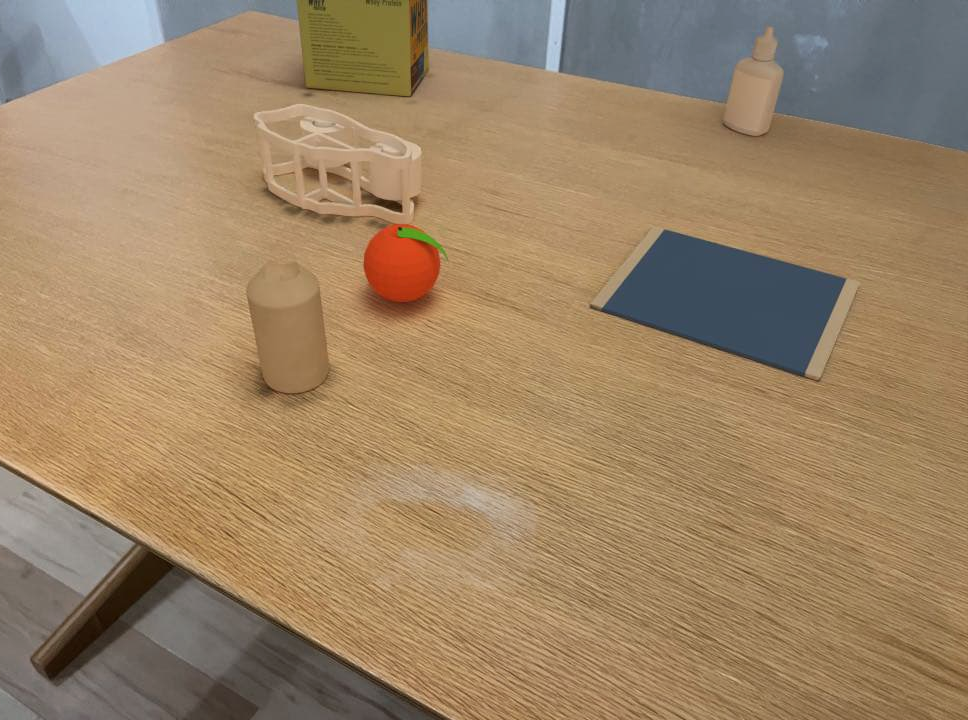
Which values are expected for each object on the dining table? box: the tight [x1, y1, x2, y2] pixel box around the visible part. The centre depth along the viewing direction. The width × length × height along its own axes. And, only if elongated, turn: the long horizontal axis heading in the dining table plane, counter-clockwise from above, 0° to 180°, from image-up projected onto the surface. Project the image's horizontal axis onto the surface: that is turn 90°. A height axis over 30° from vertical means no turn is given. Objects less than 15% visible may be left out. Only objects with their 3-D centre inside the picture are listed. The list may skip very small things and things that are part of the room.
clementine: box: [363, 224, 450, 303], centre depth 74 cm, size 8×7×7 cm
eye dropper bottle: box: [722, 25, 785, 137], centre depth 98 cm, size 4×6×12 cm
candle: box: [245, 260, 330, 394], centre depth 65 cm, size 6×6×10 cm
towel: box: [589, 225, 861, 382], centre depth 75 cm, size 20×16×1 cm
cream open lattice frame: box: [253, 103, 423, 225], centre depth 88 cm, size 20×11×7 cm, turn 46°
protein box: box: [296, 0, 430, 97], centre depth 111 cm, size 10×15×16 cm
